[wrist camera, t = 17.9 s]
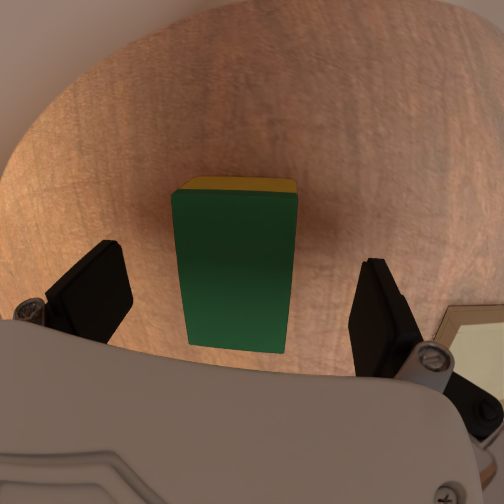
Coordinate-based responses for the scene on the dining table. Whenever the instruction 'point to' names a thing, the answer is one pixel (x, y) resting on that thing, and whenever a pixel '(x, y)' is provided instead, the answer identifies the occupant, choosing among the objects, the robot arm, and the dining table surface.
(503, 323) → the tray
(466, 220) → the dining table surface
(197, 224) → the sponge
